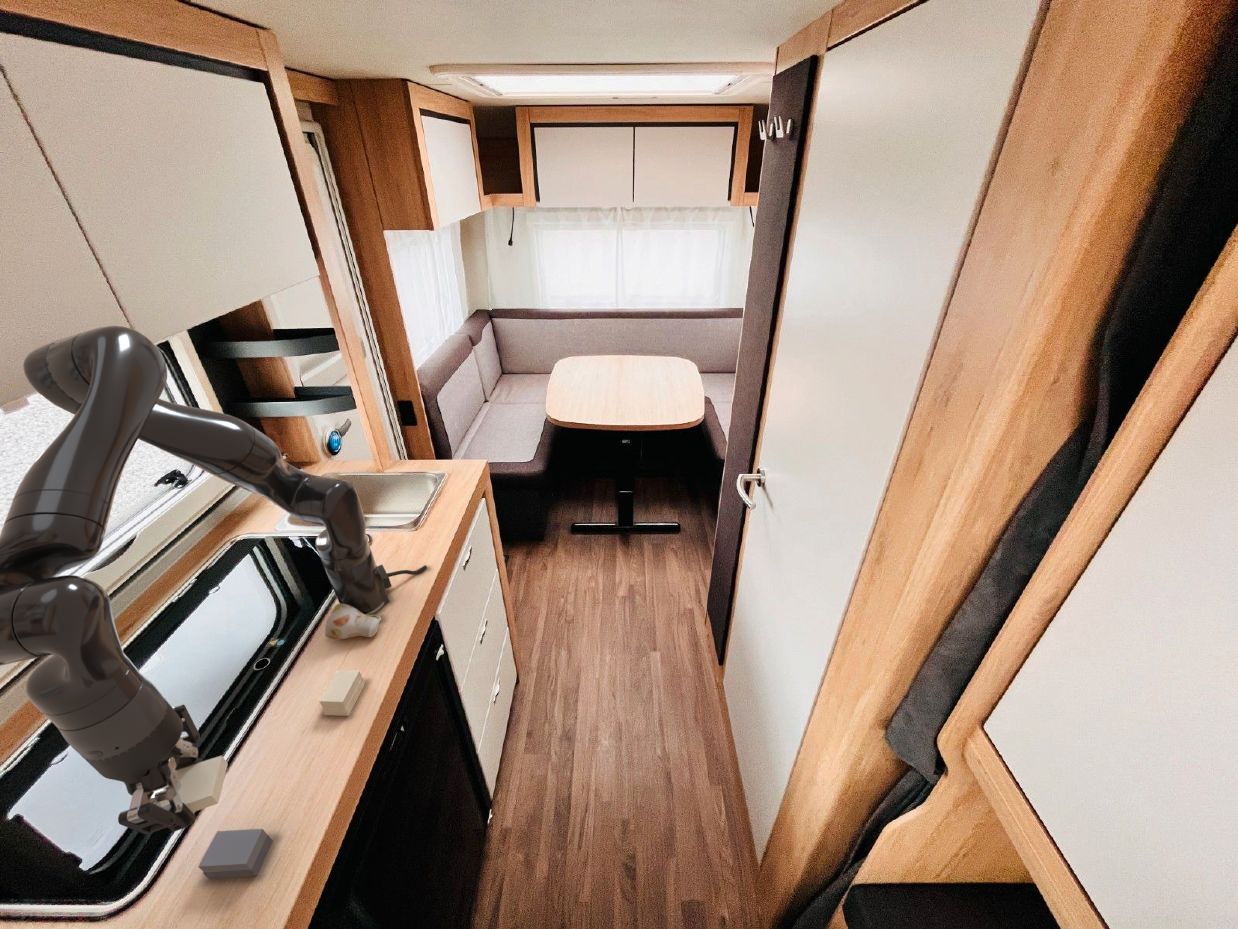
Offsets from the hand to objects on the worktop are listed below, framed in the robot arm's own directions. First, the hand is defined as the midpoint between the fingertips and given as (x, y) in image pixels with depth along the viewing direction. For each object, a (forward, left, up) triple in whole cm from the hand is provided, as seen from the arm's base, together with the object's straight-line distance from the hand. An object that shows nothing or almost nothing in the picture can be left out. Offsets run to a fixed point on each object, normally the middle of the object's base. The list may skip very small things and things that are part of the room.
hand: (192, 799), depth 64 cm
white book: (0, 0, +1) cm, 1 cm away
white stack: (-17, -18, -18) cm, 31 cm away
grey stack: (+1, 0, -18) cm, 18 cm away
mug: (-23, -34, -18) cm, 44 cm away
